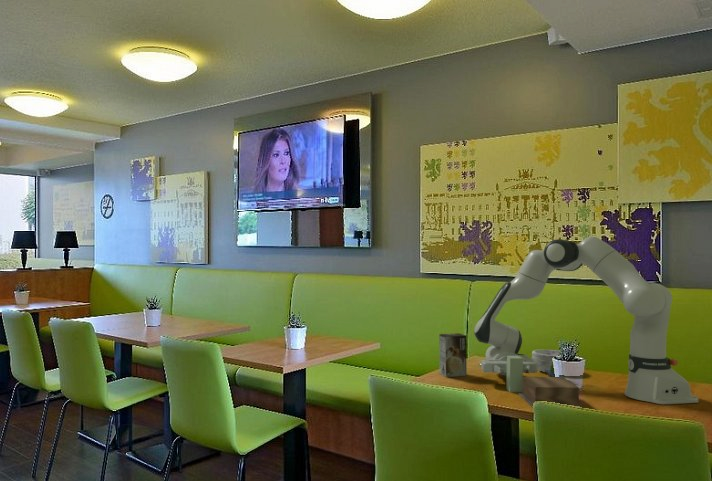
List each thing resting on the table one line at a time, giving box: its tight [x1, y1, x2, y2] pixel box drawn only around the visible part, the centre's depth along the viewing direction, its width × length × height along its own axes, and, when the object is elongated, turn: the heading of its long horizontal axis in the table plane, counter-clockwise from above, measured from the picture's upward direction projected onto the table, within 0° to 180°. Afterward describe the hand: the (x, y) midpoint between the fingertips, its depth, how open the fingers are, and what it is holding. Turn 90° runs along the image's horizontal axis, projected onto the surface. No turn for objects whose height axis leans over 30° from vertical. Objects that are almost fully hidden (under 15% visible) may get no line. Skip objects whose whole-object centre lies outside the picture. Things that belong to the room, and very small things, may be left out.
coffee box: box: [438, 332, 468, 378], centre depth 224 cm, size 9×6×16 cm
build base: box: [518, 376, 583, 407], centre depth 188 cm, size 16×16×6 cm
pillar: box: [505, 356, 524, 393], centre depth 201 cm, size 4×4×12 cm
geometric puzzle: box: [544, 363, 555, 377], centre depth 216 cm, size 7×7×8 cm
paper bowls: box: [531, 349, 560, 374], centre depth 233 cm, size 15×15×8 cm
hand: (514, 371), depth 202 cm, fingers open, 8 cm apart
